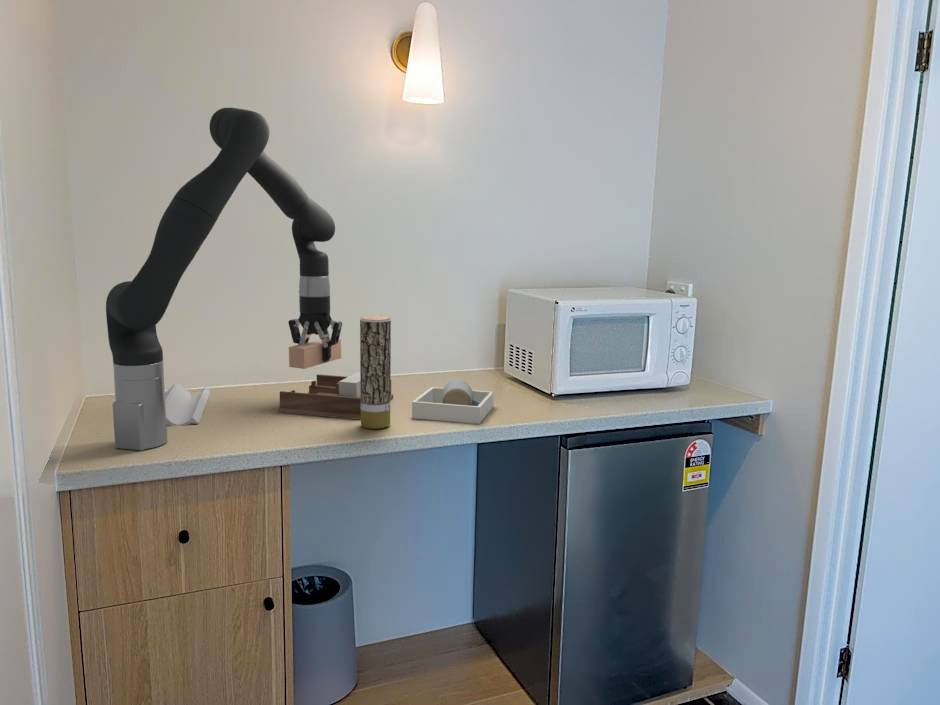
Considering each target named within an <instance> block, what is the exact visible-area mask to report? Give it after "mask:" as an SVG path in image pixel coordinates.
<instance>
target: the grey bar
mask: <svg viewBox="0 0 940 705" xmlns="http://www.w3.org/2000/svg"><path fill="white" fill-rule="evenodd" d="M346 377H347V378H345V379H343V380H341V381H339V396H346V397H359V398H360V370H359V371H357V372H354V373H353V374H351V375H349V376H346Z"/></svg>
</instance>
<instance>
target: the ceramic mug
mask: <svg viewBox="0 0 940 705" xmlns="http://www.w3.org/2000/svg"><path fill="white" fill-rule="evenodd" d="M443 388H444V389H443V395H442V403H443V404H455V405H467V406H478V405H479V404H480V403H479V402H478V401H476V400H474V399H473V392H472V390H473V389H472V386H471V385H470V384H469V383H467V382H466V381H464V380H463V379H452V380H450V381H449V382H447V383H445V385H444V387H443Z"/></svg>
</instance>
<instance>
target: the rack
mask: <svg viewBox="0 0 940 705" xmlns="http://www.w3.org/2000/svg"><path fill="white" fill-rule="evenodd" d="M347 377H348V376H345V375H344V376H341V375H329V374H316V380H312V381H311V384H310V385H308V392H306V393H305V392H296V390H291V391H279V406H278V407H277V413H283V412H284V414H285V413H286V414H294V415H295V414H296V415H297V414H298V415H307V416H318V417H319V416H320V417H330V418H342V419H354V420H361V405H360V402H361V401H360V398H359V397H346V396H339V381H341V380H343V379H345V378H347ZM393 399H394V394H392V393H391V400H393Z"/></svg>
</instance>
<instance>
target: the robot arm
mask: <svg viewBox="0 0 940 705" xmlns="http://www.w3.org/2000/svg"><path fill="white" fill-rule="evenodd" d="M209 133H210V134H209V135H210V136H211V139H212V140H213V142H214V143H215V144H216V146H217V147H219V149H221V150H219V153H218V154H217V156H216V157H215V159H213V161H212V162H211V163H210V164H209V165H208V166H207V167H205V168H204V169H203V170H202V171H201V172H199V173H198V174H196V175H194V177H192V178H191V179H190V180H189V181H187V182H186V183H185V184H183V186H181V187H180V189H178V190H177V192H176V193H175V195H174V196H173V198H172V200H171V201H170V202H169V204H168V206H167V208H166V209H165V210H164V212H163V214H162V216H161V219H160V220H159V223H158V226H157V229H156V232H155V236H154V240H153V243H152V246H151V250H150V253H149V254H148V256H147V258H146V260H145V262H144V263H143V265H142V266H141V268H140V270H139V271H138V273H137V274H136V275H135V277H134V278H133V279H132V280H131V281H130V280H128V281H123V282H119V283H118V284H116V285H114V286H113V287H112V288H111V289H110V290H109V292H108V293H107V297H106V301H105V313H106V314H105V315H106V317H105V318H106V326H107V328H106V329H107V337H108V344H109V348H110V352H111V355H112V367H113V380H114V381H113V382H114V395H115V396H114V397H115V401H113V402H112V417H113V418H112V419H113V433H114V448H115V449H122V450H123V449H124V450H130V451H144V450H148V449H151V448H152V449H153V448H156V447H160V446H163V445H165V444H167V442H168V435H167V434H168V429H167V426H168V425H166V407H165V393H166V391H165V390H166V389H165V373H164V354H163V353H164V352H163V347H162V345H161V343H160V341H159V337H158V335H157V334H158V333H157V324H158V323H159V322H160V321H161V320H162V319H163V317H164V315H165V314H166V311H167V309H168V307H169V305H170V302H171V300H172V298H173V295H174V293H175V291H176V288H177V287H178V284H179V282H180V280H181V278H182V277H183V275H184V274H185V272H186V270H187V269H188V267H189V265H190V264H191V263H192V261H193V259H194V258H195V257H196V255H197V253H198V251H199V250H200V249H201V246H202V245H203V244H204V243H205V241H206V239H207V238H208V236H209V234H210V232H211V231H212V230H213V227H214V226H215V224H216V223H217V220H218V219H219V217H220V215H221V214H222V213H223V210H224V209H225V207H226V205H227V204H228V202H229V200H230V199H231V197H232V195H233V194H234V192H235V191H236V190H237V188H238V186H239V184H240V183H241V181H242V180H243V178H244V177H245V176H246V175H247V174H249V176H251V177H252V179H253V180H254V181H256V183H257V184H258V185H259V186H260V187H261V188H262V189H263V190H264V191H265V192H266V193H267V195H268V197H270V199H272V201H273V202H274V204H276V206H277V207H278V209H280V211H281V212H282V213H283V214H284V215H285V216H286V217H287V218H288V219H291V220H292V224H291V234H292V238H293V242H294V245H295V248H296V252H297V254H298V260H299V282H298V293H299V294H298V297H299V298H298V300H299V302H298V303H299V317H298V318H293V319H290V320H288V326H289V330H290V334H291V339H292V343H293V344H296V345H299V344H303V343H308V342H310V338H311V337H312V335H317V336H318V338H319V340H320V339H321V340H322V343H323V346H324V348H323V362H326V363H329V362H328V361H329V359H331V346H332V345H335V344H337V343H338V341H339V339H340V336H341V332H342V327H343V322H342V321H340V320H339V321H336V320H333V319H332V316H331V282H330V277H329V276H330V275H329V274H330V272H329V270H330V268H329V257H328V256H329V255H328V254H327V253H326V252H323V251H322V250H321V251H320V250H318V248H317V247H316V245H315V242H316V243H325V242H329V241H331V240H332V238H333V237H334V236H335V233H336V223H335V222H334V218H333V217H332V216H331V215H330V213H329V212H328V211H327V210H326V209H324V208H323V207H322V206H321V205H320V204H318V203H317V202H316V201H315V200H314V199H312V198H310V197H309V196H308V195H307V193H306V191H305V190H304V189H303V187H302V186H301V185H300V184H299V182H298V181H297V180H296V179H295V178H294V176H292V175H291V174H290V173H289V172H288V171H286V170H285V169H284V168H283V167H282V166H281V165H279V164H278V163H277V162H276V161H275V160H273V159H272V157H270V156H269V155H268V154H267V153H266V152H265V151H264V150H265V149H266V147H267V145H268V142H269V139H270V125H269V123H268V121H267V119H266V117H265V116H264V115H262V114H261V113H259V112H256V111H253V110H249V109H245V108H243V109H242V108H237V107H222V108H220V109H218V110H217V109H216V111H215V112H214V113H213V114H212V116H211V118H210V120H209ZM300 325H301V326H300ZM330 326H331V329H332V331H331V334H330V332H329V329H328V328H330ZM299 327H302V332H300V328H299ZM330 335H331V336H330ZM330 338H331V340H330Z"/></svg>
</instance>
